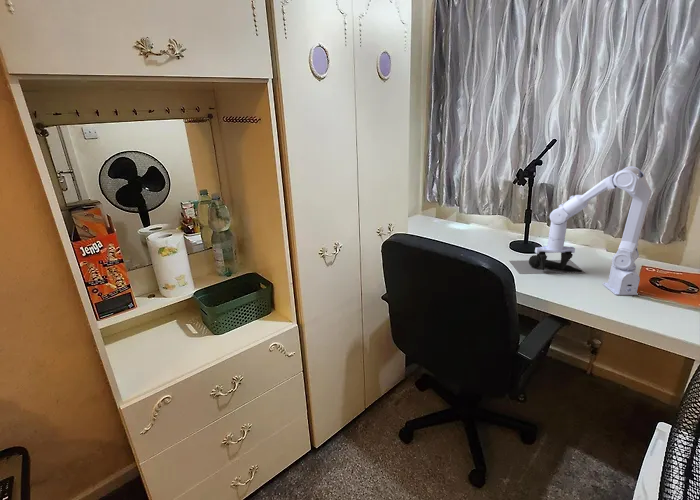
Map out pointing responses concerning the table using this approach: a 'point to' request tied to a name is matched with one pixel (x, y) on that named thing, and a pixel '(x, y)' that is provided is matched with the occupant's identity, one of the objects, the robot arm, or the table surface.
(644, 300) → the table surface
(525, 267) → the charcoal mat
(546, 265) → the microphone
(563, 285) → the table surface
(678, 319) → the table surface
